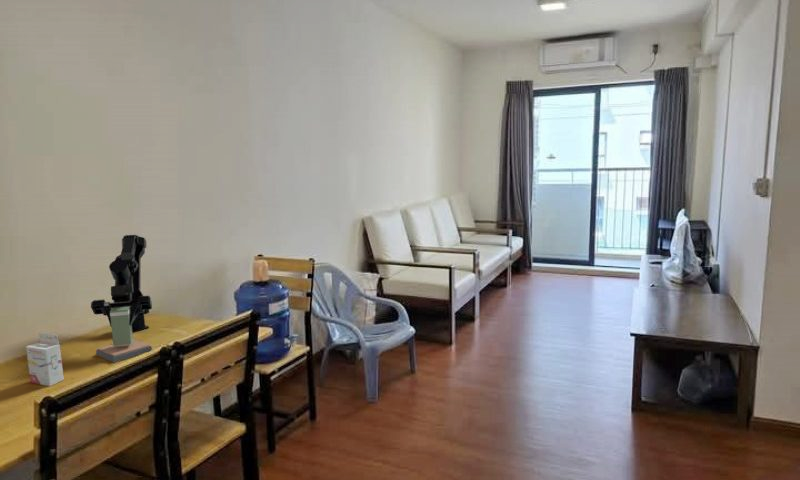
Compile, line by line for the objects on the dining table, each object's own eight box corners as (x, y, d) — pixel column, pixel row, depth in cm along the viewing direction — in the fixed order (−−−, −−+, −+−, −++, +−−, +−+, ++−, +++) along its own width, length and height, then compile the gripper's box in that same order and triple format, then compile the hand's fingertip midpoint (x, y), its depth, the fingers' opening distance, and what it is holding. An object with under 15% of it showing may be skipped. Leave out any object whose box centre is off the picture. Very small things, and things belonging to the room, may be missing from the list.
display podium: (96, 354, 184) (95, 348, 183) (133, 344, 194) (132, 338, 194) (114, 362, 176) (113, 356, 176) (151, 351, 186) (151, 345, 186)
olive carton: (113, 346, 182) (109, 311, 180) (115, 342, 186) (112, 307, 184) (131, 344, 183) (127, 309, 181) (133, 340, 188) (130, 306, 186)
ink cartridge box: (29, 383, 161) (23, 337, 158) (44, 376, 165) (39, 331, 163) (49, 386, 158) (43, 339, 156) (64, 380, 162) (59, 334, 160)
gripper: (89, 278, 182) (84, 317, 173) (148, 273, 188) (146, 311, 179) (96, 294, 190) (92, 333, 182) (152, 290, 196) (151, 327, 188)
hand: (120, 325), depth 182 cm, fingers closed on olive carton, 5 cm apart
